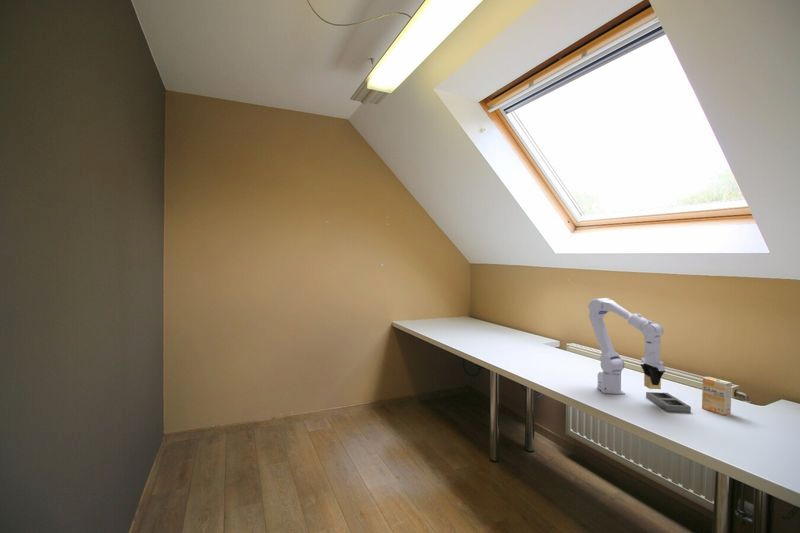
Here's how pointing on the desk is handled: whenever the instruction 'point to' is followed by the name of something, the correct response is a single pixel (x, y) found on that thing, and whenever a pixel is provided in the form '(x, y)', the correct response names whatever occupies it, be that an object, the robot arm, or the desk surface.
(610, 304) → the robot arm
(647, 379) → the nut block
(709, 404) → the supplement box
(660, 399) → the grey metal flat frame
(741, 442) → the desk surface
